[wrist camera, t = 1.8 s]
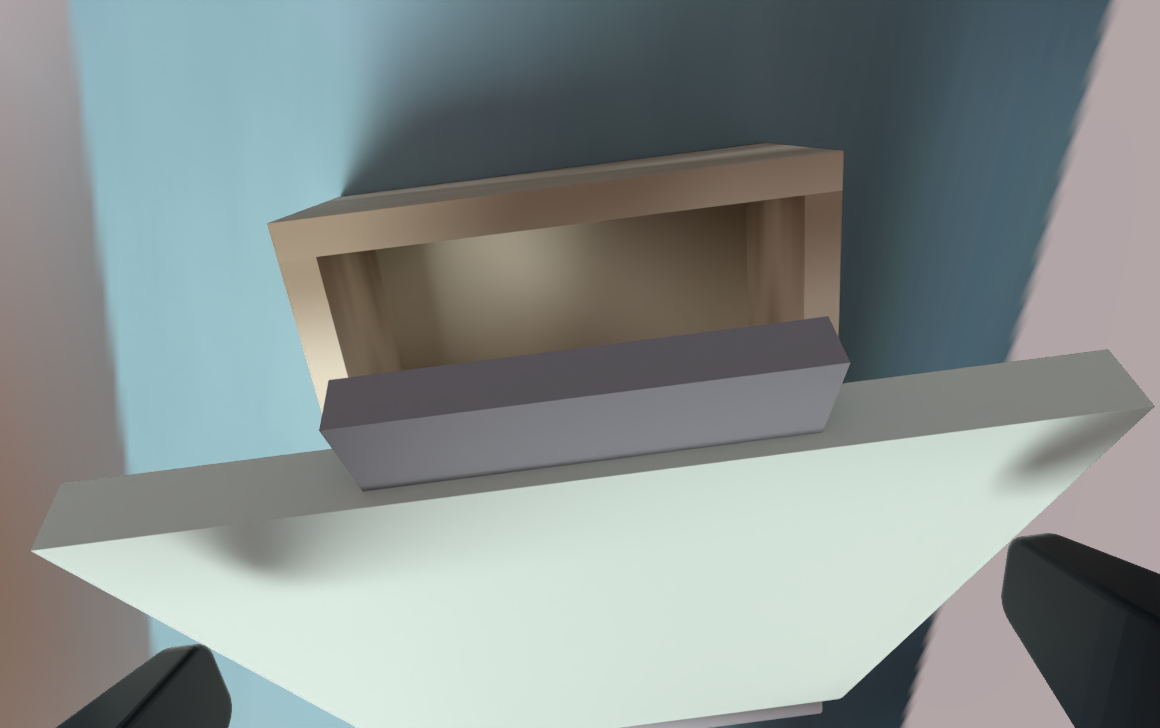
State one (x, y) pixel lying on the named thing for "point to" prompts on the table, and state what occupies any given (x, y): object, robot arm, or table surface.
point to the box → (564, 259)
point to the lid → (601, 528)
